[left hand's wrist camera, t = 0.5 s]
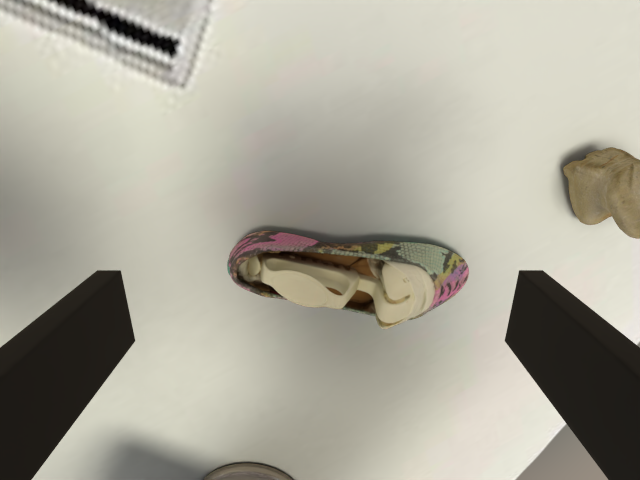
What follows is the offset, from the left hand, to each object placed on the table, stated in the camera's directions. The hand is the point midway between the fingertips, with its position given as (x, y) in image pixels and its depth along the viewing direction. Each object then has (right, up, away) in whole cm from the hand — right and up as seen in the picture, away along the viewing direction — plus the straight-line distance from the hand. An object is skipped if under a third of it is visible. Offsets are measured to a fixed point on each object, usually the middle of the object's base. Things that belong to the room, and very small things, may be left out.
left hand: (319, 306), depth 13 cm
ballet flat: (+3, 0, +28) cm, 28 cm away
